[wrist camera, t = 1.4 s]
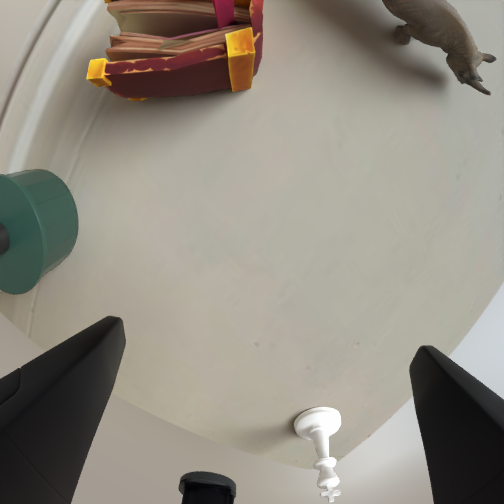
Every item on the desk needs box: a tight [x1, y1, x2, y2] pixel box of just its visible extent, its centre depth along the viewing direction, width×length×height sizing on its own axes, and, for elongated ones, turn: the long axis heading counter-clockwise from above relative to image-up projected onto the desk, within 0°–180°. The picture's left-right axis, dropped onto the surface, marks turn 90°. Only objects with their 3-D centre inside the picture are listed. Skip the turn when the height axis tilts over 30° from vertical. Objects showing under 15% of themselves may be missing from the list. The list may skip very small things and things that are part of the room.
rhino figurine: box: [382, 0, 496, 95], centre depth 15 cm, size 4×14×6 cm, turn 47°
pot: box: [8, 169, 78, 277], centre depth 20 cm, size 8×8×5 cm
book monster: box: [87, 0, 263, 101], centre depth 13 cm, size 11×9×12 cm
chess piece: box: [294, 407, 341, 503], centre depth 25 cm, size 5×5×10 cm
